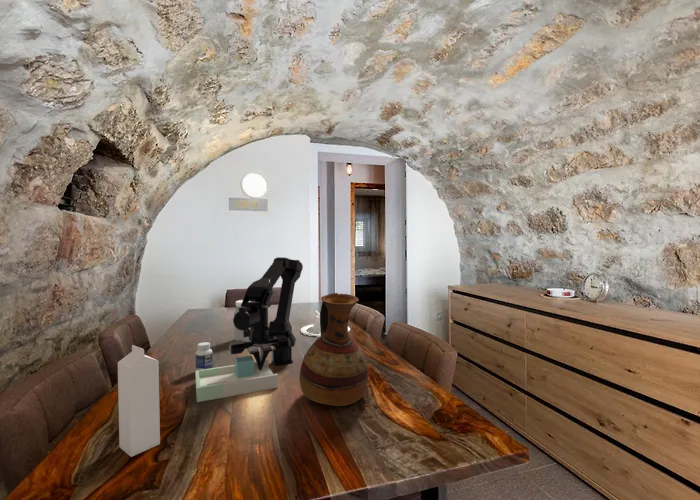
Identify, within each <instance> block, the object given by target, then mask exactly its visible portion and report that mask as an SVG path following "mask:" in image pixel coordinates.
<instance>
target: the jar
mask: <svg viewBox="0 0 700 500" xmlns="http://www.w3.org/2000/svg"><path fill="white" fill-rule="evenodd" d="M242 301H243V299H239V300H236V301H235V306H236V307H235V311H234V312H233V317H234V316H235V314H236V313H237V312H239V308H240V307H241V304H242ZM249 302H250V301H249ZM233 326H234V328H233V330H234V331H233V332H234V333H233V334H234V337H233V338H234V341H238V340H242V342H243V343H247V342H251V341H249V337H246V338H243V330H239V329H237V328H236V327H235V325H234V324H233ZM249 330H250V328H249Z"/></svg>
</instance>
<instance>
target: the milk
mask: <svg viewBox="0 0 700 500" xmlns="http://www.w3.org/2000/svg"><path fill="white" fill-rule="evenodd" d="M159 371H160V369H159V360H158V359H155V358H153V357H150V356H149V355H147V354H145V350H144V348H142V347H140V346H136V345H134V344H132V345H131V351H130V352H129V353H128V354H126V355H125V357H123V358H122V359H120V360H119V361H118V362H117V391H118V392H117V393H118V396H117V397H118V398H117V399H118V434H119V435H118V436H119V438H118V439H119V440H118V443H119V448H120V449H121V450H122V451H123V452H124V453H125V454H127V456H130V458H132V457H134V456H137V455H139V454H141V453H143V452H145V451H148V450H150V449H152V448H155V447H156V446H159V445H161V433H160V432H161V430H160V429H161V428H160V427H161V425H160V424H161V423H160V422H161V420H160V416H161V415H160V381H159V380H160V374H159V373H160V372H159Z"/></svg>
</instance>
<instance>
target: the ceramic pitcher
mask: <svg viewBox="0 0 700 500" xmlns="http://www.w3.org/2000/svg"><path fill="white" fill-rule="evenodd" d="M320 300H321V302H322V303H321V307H320V312H319V313H320V328H321V336H320V337H317V339H316V340H315V341H314V342H313V343H312V344H311V346H310V347H308V349H307V351H306V353H305V354H304V357H303V359H302V362H301V366H300V369H299V385H300V389H301V392H302V394H303V396H304V397H305V398H306V399H309V400H310V401H312V402H315V403H318V404H322V405H328V406H334V407H341V406H343V407H344V406H345V407H346V406H348V405H352V404H355V403H356V402H358V401H360V400H361V399H362V398H363V397H364V395H365V394H366V391H367V387H368V381H369V370H368V363H367V360H366V356H365V354H364V352H363V351H362V348H361V346H360V345H359V344H358V343H357V341H355V339H354V338H352V337H350V335H349V333H348V326H349V320H350V314H351V313H352V310H353V308H354V307H355V305H356V304H358V302H359V301H360V299H359V297H357V296H355V295H352V294H347V293H338V292H333V293H328V294H325V295H323V296H321V298H320Z"/></svg>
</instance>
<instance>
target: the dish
mask: <svg viewBox="0 0 700 500" xmlns="http://www.w3.org/2000/svg"><path fill="white" fill-rule="evenodd" d="M314 313H315V314H316V316H315V317H314V318H313V323H312V324H308V325H304V326H303V327H301V328H300V333H301V334H302V333H303V334H305V335H304V336H306V335H308V336H307V337H310V336H316V337H315V338H320V336H321V328H320V312H319V311H318V310H317V309H316V310H315V311H314ZM310 327H314V332H319V334H314V333H309V332H307V331H306V330H307V329H308V328H310ZM349 331H351V328H350V326H349V325H348V332H349ZM349 333H350V332H349ZM303 334H302V335H303Z"/></svg>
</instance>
